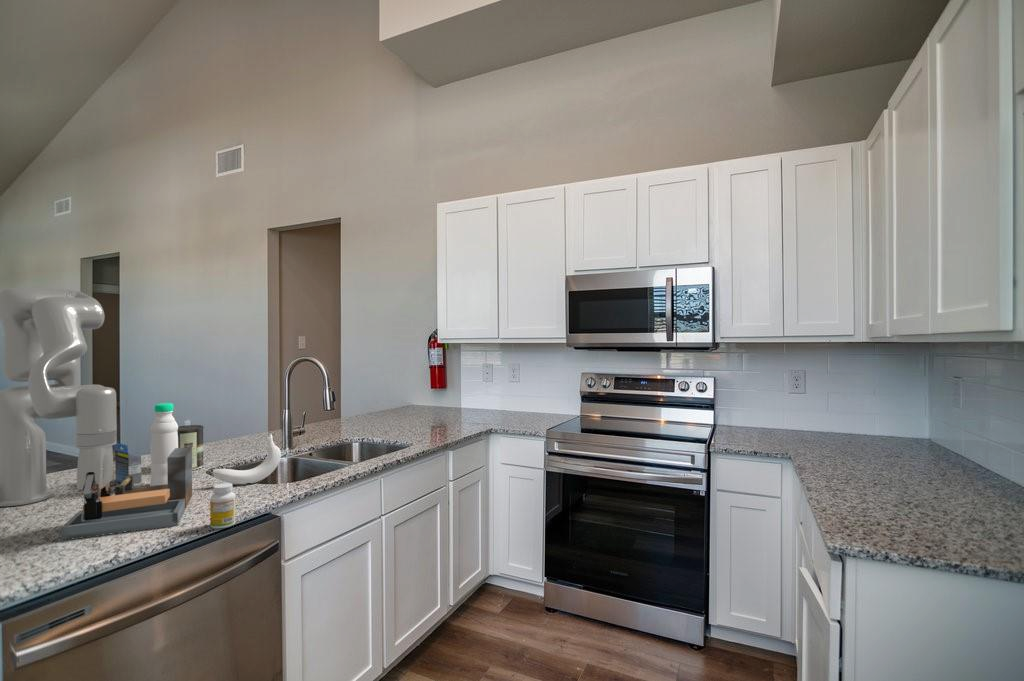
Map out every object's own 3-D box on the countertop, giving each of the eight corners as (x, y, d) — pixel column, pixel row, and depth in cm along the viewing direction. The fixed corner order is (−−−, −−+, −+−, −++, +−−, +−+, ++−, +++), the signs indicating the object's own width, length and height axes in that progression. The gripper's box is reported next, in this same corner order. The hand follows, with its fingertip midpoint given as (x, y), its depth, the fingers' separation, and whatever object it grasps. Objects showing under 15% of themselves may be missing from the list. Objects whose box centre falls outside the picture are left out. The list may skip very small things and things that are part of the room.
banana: (211, 487, 155) (211, 438, 155) (278, 476, 167) (278, 431, 167) (214, 491, 152) (214, 441, 151) (282, 479, 163) (282, 433, 163)
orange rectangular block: (83, 514, 119) (82, 505, 119) (91, 506, 124) (91, 498, 124) (165, 503, 126) (165, 495, 126) (169, 496, 131) (169, 488, 131)
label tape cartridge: (142, 482, 160) (142, 443, 160) (127, 485, 156) (127, 445, 156) (128, 478, 164) (128, 439, 164) (114, 481, 161) (114, 442, 161)
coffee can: (191, 463, 183) (190, 424, 183) (210, 466, 179) (210, 426, 179) (161, 470, 174) (161, 428, 173) (181, 474, 169) (180, 431, 169)
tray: (61, 540, 115) (61, 527, 115) (79, 522, 126) (79, 510, 126) (177, 525, 124) (177, 513, 124) (185, 509, 135) (185, 498, 135)
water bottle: (164, 489, 153) (163, 405, 152) (144, 488, 154) (144, 404, 154) (184, 482, 160) (183, 402, 159) (164, 481, 161) (164, 401, 161)
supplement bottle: (217, 521, 127) (216, 482, 127) (239, 520, 128) (239, 481, 128) (205, 529, 122) (205, 488, 122) (229, 528, 123) (229, 488, 122)
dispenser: (111, 517, 129) (110, 462, 129) (123, 503, 140) (123, 452, 140) (185, 508, 136) (185, 456, 136) (192, 495, 147) (191, 446, 147)
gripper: (88, 434, 129) (89, 506, 129) (63, 448, 113) (64, 529, 113) (125, 431, 132) (126, 501, 132) (105, 445, 116) (106, 524, 116)
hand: (97, 514), depth 123 cm, fingers closed on orange rectangular block, 5 cm apart
